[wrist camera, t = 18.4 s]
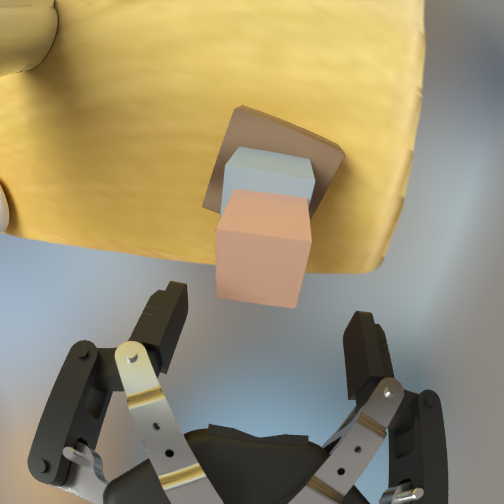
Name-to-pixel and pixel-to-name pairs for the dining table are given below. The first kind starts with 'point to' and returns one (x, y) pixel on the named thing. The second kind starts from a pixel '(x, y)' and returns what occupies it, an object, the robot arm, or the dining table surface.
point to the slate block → (267, 174)
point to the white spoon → (3, 211)
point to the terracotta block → (262, 248)
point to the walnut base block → (274, 140)
